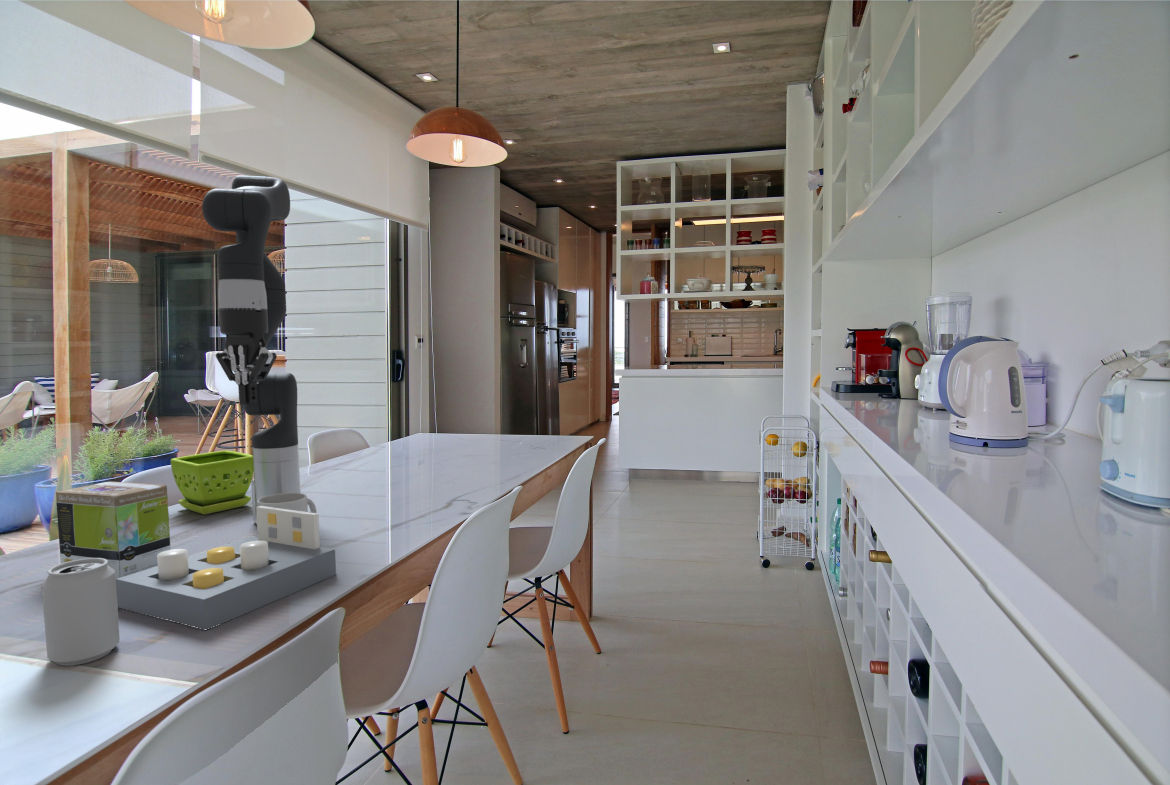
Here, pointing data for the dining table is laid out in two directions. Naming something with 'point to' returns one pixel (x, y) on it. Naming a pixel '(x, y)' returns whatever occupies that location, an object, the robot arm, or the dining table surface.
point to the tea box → (114, 524)
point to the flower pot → (213, 480)
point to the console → (236, 575)
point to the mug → (288, 502)
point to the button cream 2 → (254, 555)
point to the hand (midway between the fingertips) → (248, 405)
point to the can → (80, 611)
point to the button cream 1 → (172, 564)
